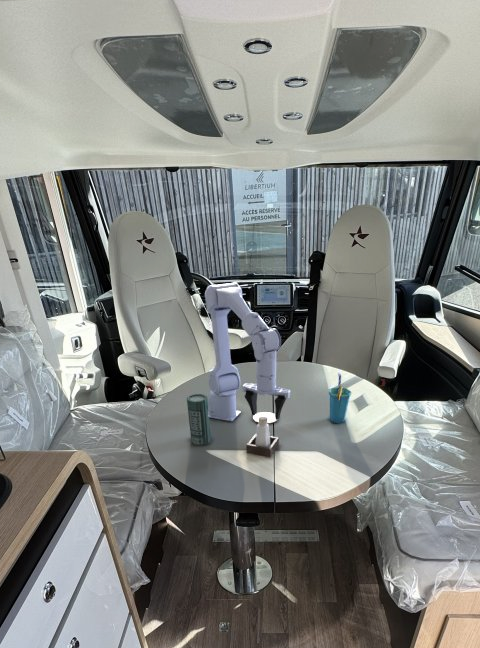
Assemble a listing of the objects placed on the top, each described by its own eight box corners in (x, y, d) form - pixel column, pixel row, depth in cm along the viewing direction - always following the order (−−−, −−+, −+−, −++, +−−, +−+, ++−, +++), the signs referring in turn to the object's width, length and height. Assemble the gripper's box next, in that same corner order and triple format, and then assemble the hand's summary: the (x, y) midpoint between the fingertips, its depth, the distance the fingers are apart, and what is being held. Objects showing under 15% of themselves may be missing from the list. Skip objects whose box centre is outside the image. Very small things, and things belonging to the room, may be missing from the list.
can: (213, 437, 146) (210, 395, 137) (205, 446, 142) (201, 402, 133) (196, 434, 148) (192, 392, 139) (188, 443, 143) (183, 400, 134)
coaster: (249, 421, 156) (249, 420, 156) (258, 411, 163) (258, 410, 163) (273, 425, 153) (273, 424, 153) (281, 415, 160) (281, 414, 160)
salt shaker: (251, 447, 141) (251, 415, 135) (267, 443, 143) (267, 412, 137) (258, 455, 137) (258, 423, 131) (274, 451, 139) (274, 419, 133)
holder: (246, 453, 138) (246, 444, 137) (255, 441, 144) (255, 433, 143) (270, 457, 136) (270, 449, 134) (278, 445, 142) (279, 437, 140)
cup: (324, 410, 164) (327, 370, 155) (345, 410, 164) (349, 371, 155) (327, 427, 152) (332, 386, 144) (350, 427, 152) (355, 386, 143)
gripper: (237, 374, 127) (239, 417, 135) (285, 381, 123) (284, 425, 131) (247, 366, 132) (247, 408, 140) (293, 373, 128) (291, 415, 136)
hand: (265, 416), depth 136 cm, fingers open, 7 cm apart
